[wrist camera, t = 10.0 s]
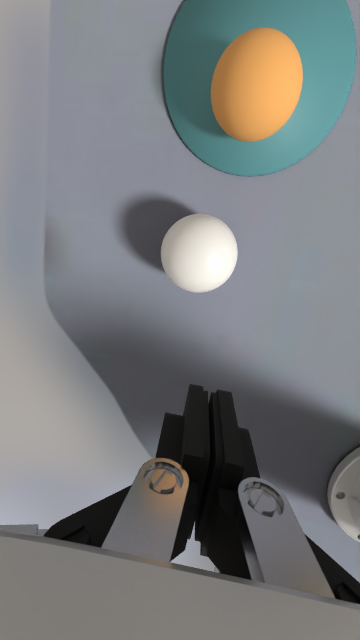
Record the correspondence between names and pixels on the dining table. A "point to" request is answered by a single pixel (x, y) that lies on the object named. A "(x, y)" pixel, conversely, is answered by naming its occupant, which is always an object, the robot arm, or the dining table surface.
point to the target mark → (208, 46)
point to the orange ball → (256, 84)
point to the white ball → (199, 253)
